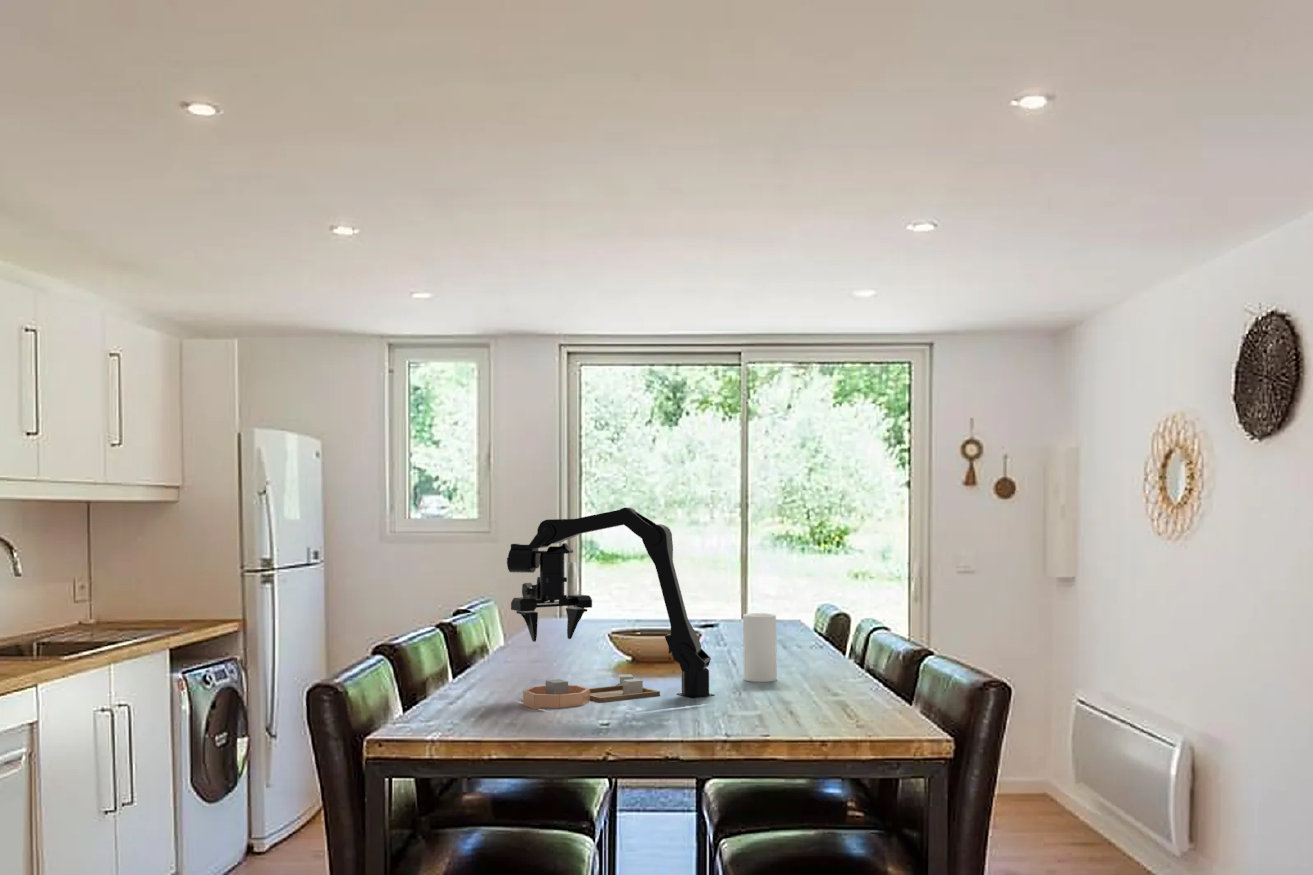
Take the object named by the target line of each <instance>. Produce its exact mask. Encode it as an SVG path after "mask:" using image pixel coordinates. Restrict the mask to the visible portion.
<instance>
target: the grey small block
mask: <svg viewBox="0 0 1313 875" xmlns="http://www.w3.org/2000/svg"><path fill="white" fill-rule="evenodd" d="M643 685H644V682H643V680H642V679H639V678H633V679H629V680H623V693H624V694H635V693H643V687H644V686H643Z"/></svg>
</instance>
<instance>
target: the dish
mask: <svg viewBox="0 0 1313 875" xmlns="http://www.w3.org/2000/svg"><path fill="white" fill-rule="evenodd" d="M590 701H591V700H590V689H589V688H588V687H586V686H582V685H578V684H568V694H562V695H551V694H546V684H544V685H539V686H530V687H528V688H527V689H525V690H523V691H522V706H525V707H527V708H531V709H534V710H545V708H556V709H557V708H558V709H559V708H567V707H569V708H570V707H575V706H577V707H578V706H584V705H585V704H587V703H589V702H590Z"/></svg>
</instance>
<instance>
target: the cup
mask: <svg viewBox="0 0 1313 875" xmlns="http://www.w3.org/2000/svg"><path fill="white" fill-rule="evenodd" d="M742 622H743V623H742V626H743V627H742V631H743V632H742V635H743V637H742V638H743V640H742V641H743V642H742V645H743V648H742V649H743V680H744V681H745V682H746V681H747V682H753V683H755V682H756V683H770V682H775V681H777V680H778V679H777V678H778V673H777V672H778V670H777V667H778V665H777V664H778V663H777V660H778V658H777V654H778V653H777V615H776V614H774V613H768V612H767V613H765V612H764V613H762V612H761V613H756V612H755V613H754V612H753V613H744V614H743V615H742Z"/></svg>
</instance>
